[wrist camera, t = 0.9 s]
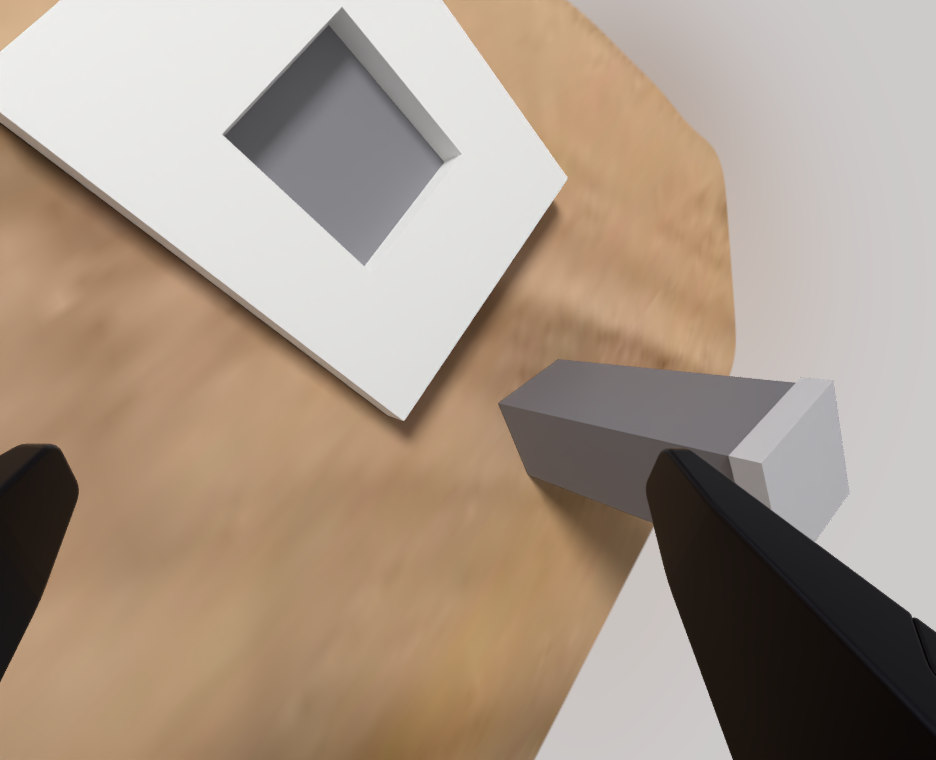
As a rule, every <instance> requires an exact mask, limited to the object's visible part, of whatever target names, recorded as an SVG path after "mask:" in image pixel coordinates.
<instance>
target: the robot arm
mask: <svg viewBox="0 0 936 760" xmlns="http://www.w3.org/2000/svg"><path fill="white" fill-rule="evenodd" d="M78 494H79V488H78V483H77V480H76V478H75V476H74V474H73V472H72V470H71V468H70V466H69V464H68V462H67V460H66V458H65V456H64V454H63V452H62V451H61V449H60V448H59V447H57V446H56V445H53V444H21V445H18V446H16V447H14V448H12V449H10V450H9V451H7V452H5V453H3V454H2V455H0V681H1V679H2V677H3V675H4V673H5V671H6V669H7V667H8V665H9V663H10V661H11V659H12V657H13V655H14V653H15V651H16V649H17V647H18V645H19V643H20V641H21V639H22V637H23V635H24V633H25V631H26V629H27V627H28V625H29V623H30V621H31V619H32V617H33V615H34V613H35V610H36V608H37V606H38V604H39V602H40V600H41V597H42V595H43V592H44V590H45V587H46V585H47V582H48V579H49V577H50V574H51V571H52V568H53V566H54V563H55V560H56V557H57V555H58V552H59V549H60V546H61V544H62V541H63V538H64V535H65V533H66V530H67V527H68V525H69V522H70V519H71V516H72V514H73V511H74V508H75V505H76V503H77V499H78ZM646 497H647V501H648V505H649V509H650V513H651V517H652V521H653V525H654V529H655V533H656V537H657V541H658V545H659V549H660V553H661V557H662V561H663V565H664V569H665V573H666V576H667V580H668V583H669V586H670V589H671V592H672V595H673V598H674V600H675V603H676V606H677V608H678V611H679V614H680V617H681V619H682V622H683V625H684V627H685V630H686V633H687V636H688V639H689V641H690V644H691V647H692V649H693V652H694V655H695V657H696V660H697V663H698V666H699V668H700V671H701V674H702V677H703V679H704V682H705V685H706V687H707V690H708V693H709V696H710V698H711V701H712V704H713V707H714V709H715V712H716V715H717V718H718V720H719V723H720V726H721V729H722V731H723V734H724V737H725V740H726V742H727V745H728V748H729V750H730V753H731V756H732V758H733V760H936V632H935V631H934V630H932V629H931V628H930V627H928V626H927V625H926V624H924V623H923V622H922V621H920V620H919V619H917V618H912V616H911V614H910V613H909V612H908V611H906V610H905V609H904V608H903V607H901V606H900V605H899V604H897V603H896V602H894V601H893V600H892V599H890V598H889V597H888V596H886V595H885V594H884V593H882V592H881V591H880V590H878V589H877V588H876V587H874V586H873V585H872V584H870V583H869V582H867V581H866V580H865V579H864V578H862V577H861V576H859V575H858V574H857V573H856V572H854V571H853V570H851V569H850V568H849V567H847V566H846V565H845V564H843V563H842V562H841V561H839V560H838V559H837V558H835V557H834V556H833V555H831V554H830V553H829V552H827V551H826V550H825V549H823V548H822V547H821V546H819V545H818V544H816V543H815V542H814V541H813V540H811V539H810V538H808V537H807V536H806V535H804V534H803V533H802V532H800V531H799V530H798V529H796V528H795V527H794V526H792V525H791V524H790V523H788V522H787V521H786V520H784V519H783V518H782V517H780V516H779V515H778V514H776V513H775V512H774V511H772V510H771V509H770V508H768V507H767V506H765V505H764V504H763V503H761V502H760V501H759V500H757V499H756V498H755V497H753V496H752V495H751V494H749V493H748V492H747V491H745V490H744V489H743V488H741V487H740V486H739V485H737V484H736V483H735V482H733V481H732V480H731V479H729V478H728V477H726V476H725V475H724V474H722V473H721V472H720V471H718V470H717V469H716V468H714V467H713V466H712V465H710V464H709V463H708V462H706V461H705V460H704V459H702V458H701V457H700V456H698V455H697V454H696V453H694V452H693V451H691V450H690V449H687V448H665V449H663V450H662V451H661V452H660V453H659V455H658V457H657V459H656V461H655V464H654V466H653V468H652V470H651V473H650V475H649V477H648V479H647V482H646Z"/></svg>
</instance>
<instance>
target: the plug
mask: <svg viewBox="0 0 936 760" xmlns="http://www.w3.org/2000/svg"><path fill="white" fill-rule="evenodd" d="M498 404H499V406H500V409H501V411H502V414H503V416H504V418H505V421H506V423H507V426H508V428H509V430H510V433H511V435H512V438H513V440H514V442H515V445H516V447H517V450H518V452H519V454H520V457H521V459H522V462H523V464H524V466H525V469H526V471H527V474H528V475H530V476H533V477H535V478H538V479H540V480H543V481H546V482H548V483H551V484H553V485H556V486H559V487H561V488H564V489H566V490H569V491H572V492H574V493H577V494H579V495H582V496H584V497H587V498H590V499H592V500H595V501H597V502H600V503H603V504H605V505H608V506H610V507H613V508H616V509H618V510H621V511H623V512H626V513H629V514H631V515H634V516H636V517H639V518H641V519H644V520H647V521H649V522H652V523H653V521H652V517H651V513H650V509H649V505H648V501H647V497H646V482H647V479H648V477H649V475H650V473H651V470H652V468H653V466H654V464H655V461H656V459H657V457H658V455H659V453H660V452H661V451H662V450H663V449H665V448H687V449H690V450H691V451H693V452H694V453H696V454H697V455H698V456H700V457H701V458H702V459H704V460H705V461H706V462H708V463H709V464H710V465H712V466H713V467H714V468H716V469H717V470H718V471H720V472H721V473H722V474H724V475H725V476H726V477H728V478H729V479H731V480H732V481H733V482H735V483H736V484H737V485H739V486H740V487H741V488H743V489H744V490H745V491H747V492H748V493H749V494H751V495H752V496H753V497H755V498H756V499H757V500H759V501H760V502H761V503H763V504H764V505H765V506H767V507H768V508H770V509H771V510H772V511H774V512H775V513H776V514H778V515H779V516H780V517H782V518H783V519H784V520H786V521H787V522H788V523H790V524H791V525H792V526H794V527H795V528H796V529H798V530H799V531H800V532H802V533H803V534H804V535H806V536H807V537H808V538H810V539H811V540H813V541H814V542H815V541H816V540H817V538H818V537H819V535H820V534H821V533H822V531H823V530H824V528H825V527H826V525H827V524H828V523H829V521H830V520H831V518H832V517H833V516H834V514H835V513H836V511H837V510H838V508H839V507H840V506H841V504H842V503H843V501H844V500H845V499H846V497H847V496H848V494H849V488H848V480H847V473H846V466H845V459H844V452H843V446H842V438H841V431H840V424H839V417H838V410H837V403H836V396H835V388H834V381H833V380H824V379H813V378H802V377H801V378H800V379H799V380H798V381H797V382H796V383H792V382H782V381H771V380H761V379H751V378H742V377H732V376H721V375H711V374H701V373H691V372H681V371H671V370H661V369H651V368H641V367H631V366H621V365H611V364H601V363H590V362H580V361H570V360H560V359H558V360H557V361H555V362H554V363H553V364H551V365H550V366H548V367H547V368H546V369H544V370H543V371H542V372H540V373H539V374H538V375H536V376H535V377H533V378H532V379H531V380H529V381H528V382H527V383H525V384H524V385H522V386H521V387H520V388H518V389H517V390H516V391H514V392H513V393H511V394H510V395H509V396H507V397H506V398H505V399H503V400H502V401H501V402H499V403H498Z"/></svg>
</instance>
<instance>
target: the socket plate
mask: <svg viewBox="0 0 936 760" xmlns="http://www.w3.org/2000/svg"><path fill="white" fill-rule="evenodd" d="M0 123H2V124H3V125H4V126H6V127H7V128H8V129H10V130H11V131H12V132H14V133H15V134H16V135H18V136H19V137H20V138H21V139H23V140H24V141H25V142H27V143H28V144H29V145H31V146H32V147H33V148H35V149H36V150H37V151H39V152H40V153H41V154H43V155H44V156H45V157H47V158H48V159H49V160H51V161H52V162H53V163H55V164H56V165H57V166H59V167H60V168H61V169H62V170H64V171H65V172H66V173H68V174H69V175H70V176H72V177H73V178H74V179H76V180H77V181H78V182H80V183H81V184H82V185H84V186H85V187H86V188H88V189H89V190H90V191H92V192H93V193H94V194H96V195H97V196H98V197H99V198H101V199H102V200H103V201H105V202H106V203H107V204H109V205H110V206H111V207H113V208H114V209H115V210H117V211H118V212H119V213H121V214H122V215H123V216H125V217H126V218H127V219H129V220H130V221H131V222H133V223H134V224H135V225H136V226H138V227H139V228H140V229H142V230H143V231H144V232H146V233H147V234H148V235H150V236H151V237H152V238H154V239H155V240H156V241H158V242H159V243H160V244H162V245H163V246H164V247H166V248H167V249H168V250H170V251H171V252H172V253H174V254H175V255H176V256H177V257H179V258H180V259H181V260H183V261H184V262H185V263H187V264H188V265H189V266H191V267H192V268H193V269H195V270H196V271H197V272H199V273H200V274H201V275H203V276H204V277H205V278H207V279H208V280H209V281H211V282H212V283H213V284H214V285H216V286H217V287H218V288H220V289H221V290H222V291H224V292H225V293H226V294H228V295H229V296H230V297H232V298H233V299H234V300H236V301H237V302H238V303H240V304H241V305H242V306H244V307H245V308H246V309H248V310H249V311H250V312H252V313H253V314H254V315H255V316H257V317H258V318H259V319H261V320H262V321H263V322H265V323H266V324H267V325H269V326H270V327H271V328H273V329H274V330H275V331H277V332H278V333H279V334H281V335H282V336H283V337H285V338H286V339H287V340H289V341H290V342H291V343H292V344H294V345H295V346H296V347H298V348H299V349H300V350H302V351H303V352H304V353H306V354H307V355H308V356H310V357H311V358H312V359H314V360H315V361H316V362H318V363H319V364H320V365H322V366H323V367H324V368H326V369H327V370H328V371H329V372H331V373H332V374H333V375H335V376H336V377H337V378H339V379H340V380H341V381H343V382H344V383H345V384H347V385H348V386H349V387H351V388H352V389H353V390H355V391H356V392H357V393H359V394H360V395H361V396H363V397H364V398H365V399H367V400H368V401H369V402H370V403H372V404H373V405H374V406H376V407H377V408H378V409H380V410H381V411H382V412H384V413H385V414H386V415H388V416H391V417H394V418H396V419H399V420H402V421H404V420H405V419H406V418H407V416H408V415H409V413H410V412H411V410H412V409H413V407H414V406H415V404H416V403H417V401H418V400H419V398H420V397H421V395H422V394H423V392H424V391H425V389H426V388H427V386H428V385H429V383H430V382H431V380H432V379H433V377H434V376H435V375H436V373H437V372H438V370H439V369H440V367H441V366H442V364H443V363H444V361H445V360H446V358H447V357H448V355H449V354H450V352H451V351H452V349H453V348H454V346H455V345H456V343H457V342H458V340H459V339H460V337H461V336H462V334H463V333H464V332H465V330H466V329H467V327H468V326H469V324H470V323H471V321H472V320H473V318H474V317H475V315H476V314H477V312H478V311H479V309H480V308H481V306H482V305H483V303H484V302H485V300H486V299H487V297H488V296H489V294H490V293H491V292H492V290H493V289H494V287H495V286H496V284H497V283H498V281H499V280H500V278H501V277H502V275H503V274H504V272H505V271H506V269H507V268H508V266H509V265H510V263H511V262H512V260H513V259H514V257H515V256H516V254H517V253H518V251H519V250H520V249H521V247H522V246H523V244H524V243H525V241H526V240H527V238H528V237H529V235H530V234H531V232H532V231H533V229H534V228H535V226H536V225H537V223H538V222H539V220H540V219H541V217H542V216H543V214H544V213H545V211H546V210H547V209H548V207H549V206H550V204H551V203H552V201H553V200H554V198H555V197H556V195H557V194H558V192H559V191H560V189H561V188H562V186H563V185H564V183H565V182H566V180H567V179H568V178H567V176H566V175H565V173H564V172H563V171H562V169H561V168H560V166H559V165H558V164H557V162H556V161H555V159H554V158H553V156H552V155H551V154H550V152H549V151H548V149H547V148H546V147H545V145H544V144H543V142H542V141H541V139H540V138H539V137H538V135H537V134H536V132H535V131H534V130H533V128H532V127H531V125H530V124H529V122H528V121H527V120H526V118H525V117H524V115H523V114H522V113H521V111H520V110H519V108H518V107H517V105H516V104H515V103H514V101H513V100H512V98H511V97H510V96H509V94H508V93H507V91H506V90H505V88H504V87H503V86H502V84H501V83H500V81H499V80H498V78H497V77H496V76H495V74H494V73H493V71H492V70H491V69H490V67H489V66H488V64H487V63H486V61H485V60H484V59H483V57H482V56H481V54H480V53H479V52H478V50H477V49H476V47H475V46H474V44H473V43H472V42H471V40H470V39H469V37H468V36H467V35H466V33H465V32H464V30H463V29H462V27H461V26H460V25H459V23H458V22H457V20H456V19H455V18H454V16H453V15H452V13H451V12H450V10H449V9H448V8H447V6H446V5H445V3H444V2H443V1H442V0H60V1H59V2H58V3H57V4H56V5H54V6H53V7H52V8H51V9H50V10H49V11H47V12H46V13H45V14H44V15H43V16H42V17H40V18H39V19H38V20H37V21H36V22H35V23H33V24H32V25H31V26H30V27H29V28H28V29H26V30H25V31H24V32H23V33H22V34H21V35H19V36H18V37H17V38H16V39H15V40H14V41H12V42H11V43H10V44H9V45H8V46H7V47H5V48H4V49H3V50H2V51H1V52H0Z"/></svg>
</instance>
